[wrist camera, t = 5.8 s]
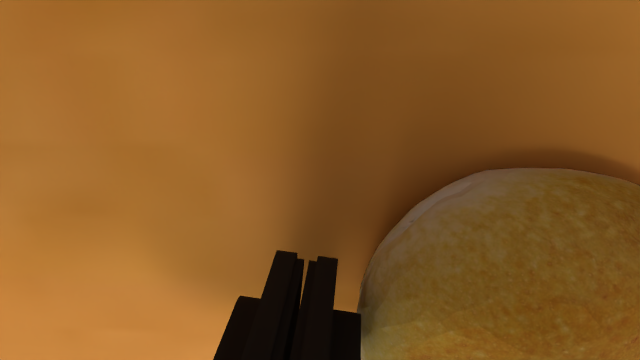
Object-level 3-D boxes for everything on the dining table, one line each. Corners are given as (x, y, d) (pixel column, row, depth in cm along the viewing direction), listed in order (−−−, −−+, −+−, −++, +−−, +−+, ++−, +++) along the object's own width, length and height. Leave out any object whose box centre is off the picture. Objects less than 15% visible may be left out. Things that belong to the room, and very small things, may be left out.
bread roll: (625, 94, 9) (800, 169, 5) (693, 365, 12) (834, 530, 8) (300, 228, 11) (269, 342, 8) (424, 426, 14) (444, 574, 11)
